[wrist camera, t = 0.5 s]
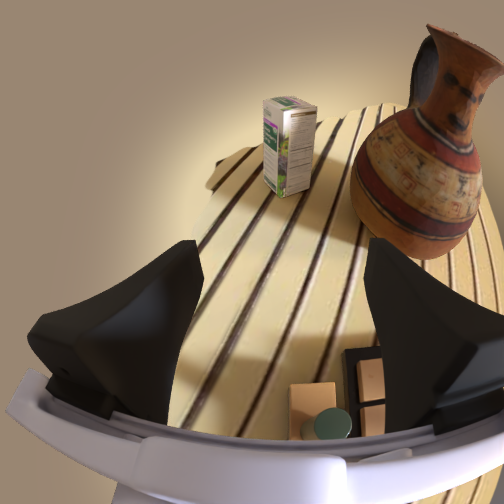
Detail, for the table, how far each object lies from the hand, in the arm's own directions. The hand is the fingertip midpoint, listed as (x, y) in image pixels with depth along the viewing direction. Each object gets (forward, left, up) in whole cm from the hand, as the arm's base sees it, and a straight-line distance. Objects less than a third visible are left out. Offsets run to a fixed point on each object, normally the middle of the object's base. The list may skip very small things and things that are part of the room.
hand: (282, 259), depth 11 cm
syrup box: (+30, -2, -18) cm, 35 cm away
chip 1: (-2, -10, -16) cm, 19 cm away
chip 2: (-6, -10, -16) cm, 20 cm away
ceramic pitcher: (+22, -20, -18) cm, 35 cm away
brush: (-6, -3, -18) cm, 19 cm away
